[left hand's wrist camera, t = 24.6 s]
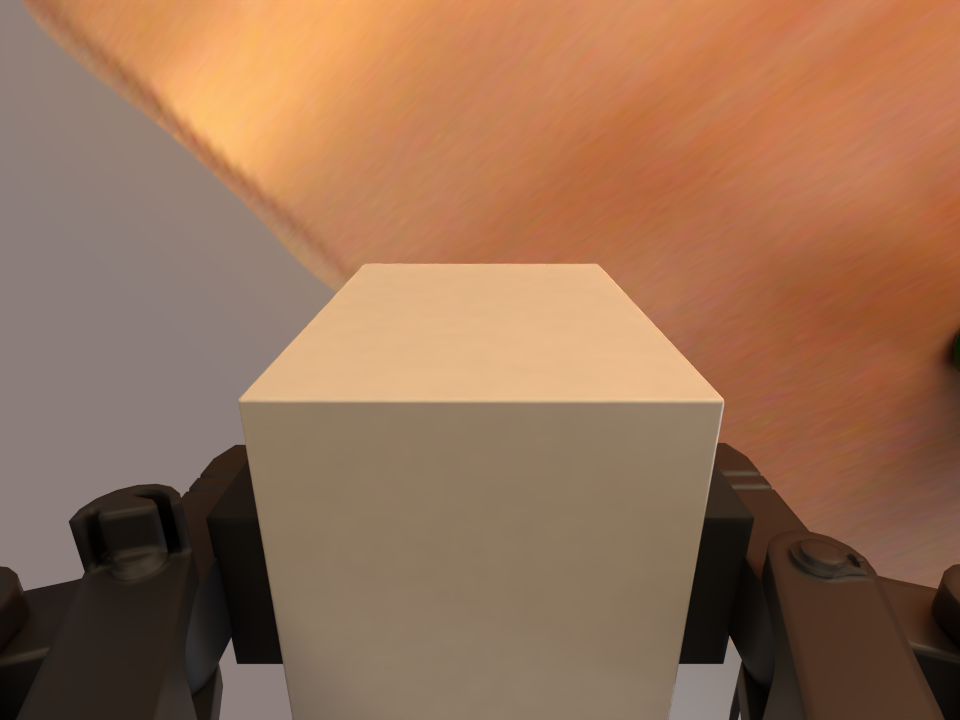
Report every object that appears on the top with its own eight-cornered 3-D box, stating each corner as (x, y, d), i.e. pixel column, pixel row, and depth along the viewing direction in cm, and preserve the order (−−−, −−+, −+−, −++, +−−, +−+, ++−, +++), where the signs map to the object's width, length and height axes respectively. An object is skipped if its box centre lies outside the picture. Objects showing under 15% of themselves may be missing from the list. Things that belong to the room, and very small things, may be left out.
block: (379, 483, 17) (298, 761, 9) (363, 263, 14) (235, 399, 7) (581, 483, 17) (662, 762, 9) (598, 263, 14) (727, 400, 7)
